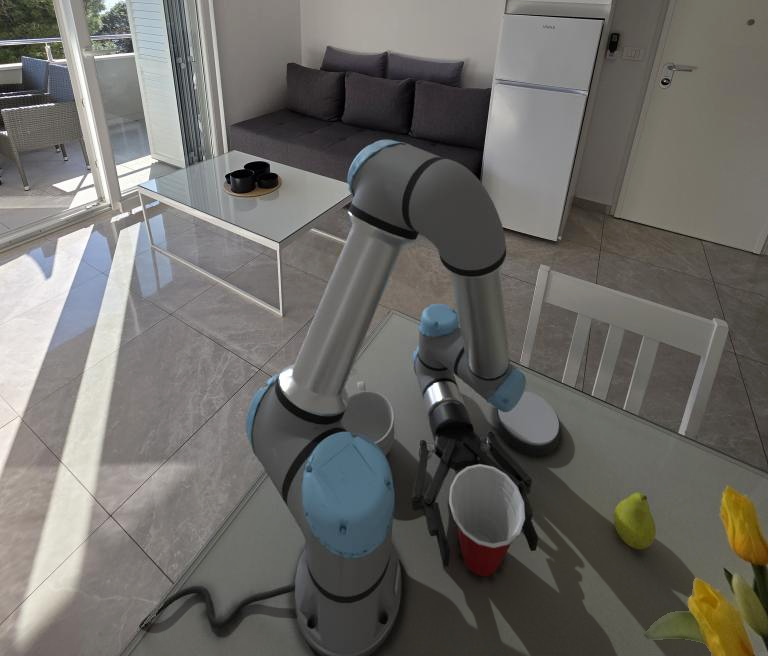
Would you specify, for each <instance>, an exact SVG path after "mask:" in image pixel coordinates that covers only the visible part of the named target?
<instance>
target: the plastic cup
mask: <svg viewBox="0 0 768 656" xmlns="http://www.w3.org/2000/svg"><path fill="white" fill-rule="evenodd" d="M448 495H449V496H448V504H449V508H450V511H451V514H452V518H453V520H454V522H455V523H456V527H457V534H458V539H459V546H460V547H459V548H460V551H461V556H462V558H463V561H464V564H465V565H466V566H467V568H468V570H469V571H471V572H472V573H473V574H475V575H476V576H480V577H488V576H489V577H490V576H492V575H493V574H494V573H495V572H496V571H497V570H498V569H499V566H500V565H501V563H502V562H503V561H504V559H505V557H506V555H507V552H508V550H509V548H510V546H511V544H512V543H513V542H514V540H515V539H516V538H517V537H519V536H520V534H521V531H522V526H523V523H524V520H525V511H524V501H523V499H522V497H521V494H520V492H519V490H518V487H517V486H516V485H515V484H514V483H513V481H512V480H511V479H510V478H509V477H508V476H507V475H506V474H505V473H503V472H501V471H500V470H498V469H496V468H495V467H492V466H487V465H482V464H478V465H473V466H468V467H466V468H465V469H461V470H460V471H458V473H456V475H455V476H454V479H453V481H452V482H451V484H450V486H449V494H448Z"/></svg>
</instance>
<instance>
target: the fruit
mask: <svg viewBox="0 0 768 656" xmlns="http://www.w3.org/2000/svg"><path fill="white" fill-rule="evenodd" d="M647 498H648V497H647V496H646V495H644V494H643V493H641V492H635V493H632V494H631V495H629V497H627V498H623V499H622V500H621V501H619V503H618V504H617V505H616V508H615V509H614V513H613V524H614V528H615V530H616V532H617V534H618V536H619V537H620V539H621V540H622V542H624V543H625V544H626V545H627V546H629V547H630V548H631V549H632V548H633V549H635V550H645V549H648V548H649V547H650V546H652V545H653V543H654V541H655V538H656V524H655V523H656V522H655V520H654V518H653V515H652V513H651V509H650V505H649V502H648V499H647Z"/></svg>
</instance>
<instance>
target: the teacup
mask: <svg viewBox="0 0 768 656" xmlns="http://www.w3.org/2000/svg"><path fill="white" fill-rule="evenodd" d="M356 390H357V392H355V393H353V394H351V395H348V399H349V401H348V406H347V408H346V410H345V413H344V416H343V418H342V420H341V424H342V426H343V427H344V428H345V429H346V430H347V432H351V433H352V435H357V434H362V435H364V436H366V437H368V438H369V439H371V440H372V441H373V442H374V443H375V444H376V445H377V446H378V447H379V448H380V449H381V450H382V452H383V453H384V455H385V457H387V455H388V454H389V453H390V451H391V448H392V446H393V444H394V439H395V410H394V407H393V405H392V403H391V402H390V399H389V398H387V397H386V395H383V394H382V393H380V392H377V391H373V390H366V383H365V381H363V380H361V381H357V383H356Z"/></svg>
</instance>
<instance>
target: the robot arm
mask: <svg viewBox="0 0 768 656" xmlns="http://www.w3.org/2000/svg"><path fill="white" fill-rule="evenodd" d="M346 182H347V184H348V188H347V189H348V191H349V193H350V194H351V197H352V201H351V203H350V206H349V208H348V210H347V214H348V218H349V219H350V222H351V228H350V230H349V233H348V235H347V238H346V240H345V243H344V245H343V247H342V249H341V252H340V254H339V256H338V259H337V262H336V263H335V266H334V268H333V271H332V273H331V276H330V278H329V280H328V283H327V285H326V288H325V290H324V293H323V295H322V296H321V300H320V302H319V305H318V307H317V309H316V312H315V314H314V315H313V316H314V317H313V318H312V321H311V323H310V325H309V328H308V331H307V334H306V336H305V338H304V340H303V343H302V345H301V348H300V350H299V352H298V354H297V357H296V359H295V362H294V363H293V364H290V365H288V366H286V367H284V368H283V369H282V370H281V371H280V372H278V373H277V374H275V375H273V376H272V377H270V378H269V379H268V380H267V381H266V385H265V386H264V387H260V388H259V389H258V390H257V392H256V393H255V395H254V396H253V398H252V400H251V402H250V405H249V406H248V409H247V413H246V419H245V432H246V437H247V439H248V441H249V443H250V446H251V450H252V453H253V454H254V456H255V457H256V459H257V461H258V462H259V463H260V464H261V466H262V468H263V469H264V471H265V472H266V474H267V476H268V477H269V479H270V481H271V482H272V485H273V486H274V487H275V489H276V490H277V492H278V494H279V495H280V497H281V499H282V500H283V502H284V503H285V505H286V507H287V509H288V511H289V512H290V514H291V515H292V518H293V519H294V520H295V522H296V524H297V526H298V528H299V529H300V531H301V533H302V535H303V537H304V540H305V547H304V550H303V551H302V553H301V556H300V558H299V561H298V564H297V568H296V571H295V576H294V577H295V578H294V583H290V584H288V585H284V586H281V587H277V588H274V589H271V590H268V591H262V592H257V593H254V594H251V595H249V596H247V597H245V598H244V599H242V600H241V601H239V602H238V604H237V605H235V606H234V608H233V609H232V610H231V612H229V614H228V615H227V616H225V618H222V619H217V618H216V617H215V615H214V610H213V601H212V597H211V594H210V591H209V590H208V589H207V588H206V587H205V586H202V585H192V586H188V587H185V588H183V589H181V590H179V591H177V592H175V593H174V594H173V595H171V596H169V597H168V598H167V599H165V600H166V601H165V600H164V601H165V602H164V601H163V602H164V604H163V606H162V607H161V608H160V609H159V610H158V612H157V613H156V616H155V617H153V618H152V619H151V621H153V620H154V619H155V618H156V617H157V616H158V615H159V614H161V613H162V612H163V611H164V610H165V609H166V608H168V607H169V606H170V605H171V604H173V603H175V602H176V601H177V600H179V599H181V598H183V597H186V596H189V595H193V594H196V595H201V596H202V597H203V598H204V602H205V611H206V617H207V619H208V622H209V624H210V625H211V626H212V627H213V628H216V629H222V628H224V627H226V626H228V625H229V624H230V623H231V622H232V621H233V620H234V618H235V617H236V616H237V615H238V614H239V613H240V612H241V610H242V609H244V608H245V607H247V606H249V605H250V604H253V603H256V602H260V601H265V600H269V599H272V598H275V597H278V596H282V595H285V594H289V593H292V592H294V607H295V608H294V609H295V615H296V619H297V623H298V626H299V628H300V631H301V633H302V635H303V637H304V639H305V640H306V642H307V643H308V645H309V646H310V647H311V648H312V649H313V651H315V652H316V653H317V654H318V655H320V656H370V655H372V654H374V652H376V650H378V649H379V648H380V647H381V646H382V644H383V643H384V642H385V641H386V639H387V638H388V637H389V635H390V634H391V632H392V630H393V627H394V625H395V623H396V620H397V617H398V614H399V611H400V606H401V599H402V598H401V597H402V586H403V584H402V581H403V580H402V568H401V563H400V559H399V556H398V553H397V550H396V548H395V545H394V544H393V542H392V536H393V535H392V534H393V524H394V514H395V501H396V500H395V499H396V498H395V487H394V481H393V474H392V470H391V466H390V464H389V461H388V459H387V456H385V455H384V453H383V452H382V450H381V449H380V448H379V447H378V446H377V445H376V444H375V443H374V442H373V441H372V440H371V439H369V438H368V437H366V436H364V435H362V434H357V435H352V433H351V432H347V430H346V429H345V428H344V427H343V426H342V424H341V420H342V418H343V416H344V413H345V410H346V408H347V406H348V401H349V399H348V397H349V394H348V392H347V389H346V384H347V382H348V380H349V377H350V375H351V373H352V370H353V367H354V366H355V363H356V360H357V359H358V356H359V354H360V351H361V349H362V346H363V344H364V341H365V338H366V336H367V334H368V332H369V329H370V326H371V325H372V322H373V320H374V317H375V314H376V312H377V309H378V307H379V305H380V302H381V300H382V297H383V295H384V293H385V290H386V288H387V285H388V283H389V281H390V278H391V276H392V274H393V270H394V268H395V266H396V264H397V261H398V259H399V256H400V254H401V252H402V249H403V248H404V247H405V246H408V245H410V244H412V243H415V242H416V240H417V239H418V236H419V235H421V236H423V237H425V238H426V239H427V240H428V241H430V242H431V243H432V245H433V246H434V247H435V248H436V249H437V251H438V255H439V259H440V262H441V264H442V266H443V267H444V268H445V269H446V270H447V271H448V272H449V274H450V280H451V286H452V287H451V288H452V292H453V296H454V301H455V307H456V310H455V309H454V308H452V307H451V306H449V305H447V304H444V303H433V304H430V305H428V306H427V307H425V308H424V309H423V311H422V313H421V316H420V318H421V319H420V325H419V326H418V327H419V328H418V331H419V333H418V346H417V347H416V349H415V350H414V351H413V354H412V363H413V371H414V373H415V376H416V380H417V382H418V386H419V389H420V393H421V397H422V400H423V405H424V408H425V412H426V416H427V419H428V421H429V422H428V423H429V427H430V431H431V435H432V439H433V443H427V441H426V440H424V439H421V440H420V441H419V445H418V446H419V447H418V458H419V461H418V466H417V470H416V475H415V479H414V483H413V484H414V485H413V489H412V494H411V503H410V504H411V505H410V508H411V510H412V511H414V512H417V511H421V512H422V515H423V516H424V517H425V520H426V525H427V530H428V534H429V536H430V537H436V540H437V544H438V549H439V554H440V558H441V562H442V566H443V567H449V565H450V558H451V557H450V556H451V552H450V547H449V544H448V539H447V535H446V531H445V527H444V522H443V519H442V515H441V511H440V506H439V502H437V498H438V496H439V493H440V491H441V489H442V486H443V484H444V482H445V479H446V477H447V476H448V475H449V471H450V470H451V469H452V470H453V471H454V472H457V471H458V472H460V471H462V470H463V469H465V468H466V467H468V466H473V465H478V464H482V465H487V466H492V467H495V468H496V469H498V470H500V471H501V472H503V473H505V474H506V475H507V476H508V477H509V478H510V479H511V480H512V481H513V483H514V484H515V485H516V486H517V487H518V490H519V492H520V494H521V497H522V499H523V501H524V511H525V520H524V523H523V526H522V529H521V531H522V532H523V535H524V537H525V539H526V542H527V545H528V547H529V549H530V552H535V551H537V547H538V542H539V536H538V533H537V531H536V529H535V527H534V524H533V521H532V520H533V515H534V510H533V508H532V505H531V503H530V500H529V498H528V496H527V495H529V494H530V493H531V489H532V485H533V479H532V478H531V476H530V475H529V474H528V473H527V472H526V471H525V469H523V468H522V466H520V464H519V463H518V462H517V461H516V460H515V459H514V458H513V457H512V456H511V455H510V454H509V452H508V451H506V449H505V448H504V447H503V446H502V445H501V444H500V443H499V441H498V439H497V438H496V435H495V433H494V432H493V431H488V432H487V433H486V435H485V436H481V437H480V436H478V434H477V433H476V432H475V429H474V425H473V423H472V420H471V418H470V415H469V412H468V410H467V407H466V404H465V401H464V399H463V396H462V393H461V391H460V387H459V385H458V382H457V380H456V377H457V378H458V379H460V380H461V381H462V382H463V383H464V384H466V385H467V386H468V387H469V388H471V390H473V391H474V392H476V393H477V394H478V395H479V396H481V398H482V399H484V400H485V401H486V402H487V403H489V404H491V405H492V406H494V407H495V409H496V408H498V409H499V410H500V411H502V412H509V411H511V410H512V409H513V408H514V407H515V406H516V405H517V403H518V402H519V400H520V399H521V397H522V395H523V392H524V391H526V390H525V389H526V385H527V378H526V375H525V374H524V373H523V372H522V371H521V370H520V369H519V368H518V367H517V366H516V365H514V364H512V363H511V361H510V360H511V359H510V354H509V353H510V352H509V342H508V332H507V321H506V311H505V303H504V302H505V301H504V290H503V279H502V270H501V269H502V268H501V267H502V266H503V265H504V263H505V261H506V258H507V244H506V235H505V231H504V226H503V223H502V220H501V218H500V215H499V213H498V210H497V208H496V206H495V202H494V201H493V200H492V198H491V196H490V194H489V192H488V191H487V189H486V188H485V186H484V185H483V183H482V181H481V180H480V179H479V178H478V177H477V176H476V175H475V174H474V173H473V172H472V171H471V170H469V169H468V168H467V167H466V166H464V165H463V164H461V163H459V162H458V161H454V160H453V159H450V158H449V159H448V158H445V157H443V156H439V155H436V154H434V153H431V152H429V151H426V150H424V149H421V148H419V147H416V146H415V145H414V146H413V145H411V144H409V143H406V142H403V141H402V142H401V141H398V140H393V139H380V140H377V141H375V142H373V143H371V144H368V145H367V146H365V147H364V148H363V149H362V150H360V152H359V153H358V154H357V155H356V156H355V157H354V159H353V161H352V162H351V165H350V167H349V169H348V172H347V181H346ZM455 376H456V377H455ZM482 448H484V449H485V450H484V449H482ZM487 453H490V455H491V457H492V458H493V459H494V460H493V459H492V458H491V457H490V456H488V455H487ZM433 454H435V455H436V457H438V459H439V460H440V461H439V464H438V466H437V469H436V471H435V473H434V474H433V477H432V480H431V482H430V484H429V486H428V489H427V491H426V493H425V495H422V494H423V489H424V483H425V479H426V473H427V467H428V461H429V460H430V459H431V458H432V455H433ZM154 610H155V609H153V610H152V611H151V612H150V613H149V614H148V615H147V616H146V617H145V618H143V620H142V621H141V622H140V623H139V626H138V627H139V629H142V628H141V626H142V625H143V624H144V622H145V621H146V620H147V618H148V617H149V616H150V615H151V613H152V612H153V611H154Z"/></svg>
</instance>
